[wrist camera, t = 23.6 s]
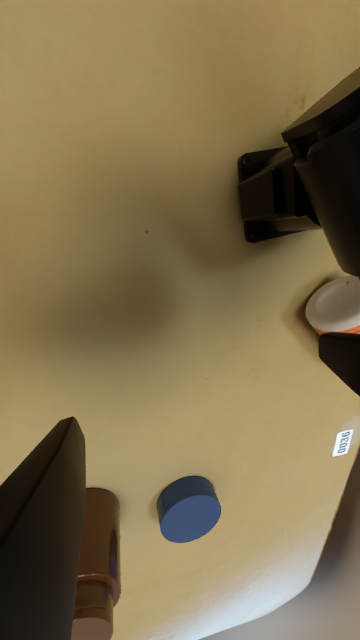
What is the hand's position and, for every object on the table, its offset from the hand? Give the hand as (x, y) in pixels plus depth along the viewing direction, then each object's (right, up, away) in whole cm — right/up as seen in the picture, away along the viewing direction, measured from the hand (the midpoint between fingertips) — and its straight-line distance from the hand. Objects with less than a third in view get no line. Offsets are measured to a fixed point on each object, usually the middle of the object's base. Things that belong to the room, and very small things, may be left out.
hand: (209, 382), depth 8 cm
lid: (0, -19, +18) cm, 26 cm away
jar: (-11, -18, +17) cm, 27 cm away
